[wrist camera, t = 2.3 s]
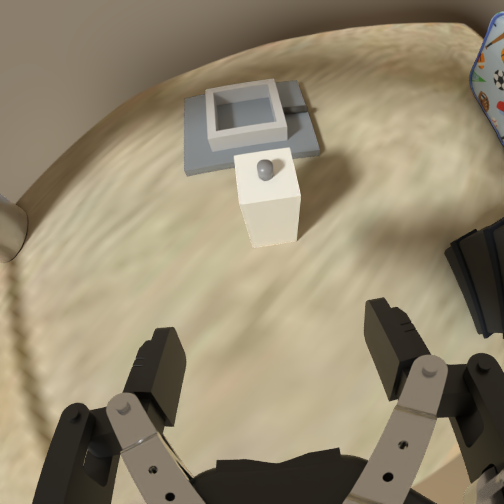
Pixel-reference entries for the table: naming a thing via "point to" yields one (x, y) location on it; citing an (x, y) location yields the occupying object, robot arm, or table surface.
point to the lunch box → (491, 75)
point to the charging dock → (245, 124)
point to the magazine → (481, 275)
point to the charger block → (268, 196)
